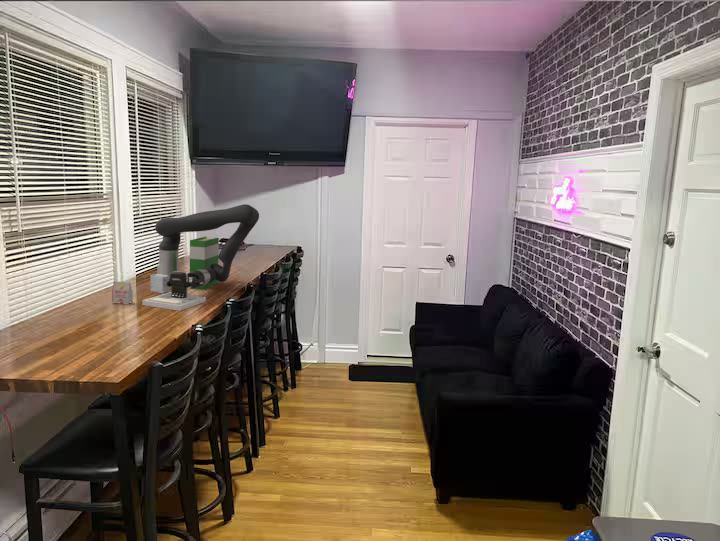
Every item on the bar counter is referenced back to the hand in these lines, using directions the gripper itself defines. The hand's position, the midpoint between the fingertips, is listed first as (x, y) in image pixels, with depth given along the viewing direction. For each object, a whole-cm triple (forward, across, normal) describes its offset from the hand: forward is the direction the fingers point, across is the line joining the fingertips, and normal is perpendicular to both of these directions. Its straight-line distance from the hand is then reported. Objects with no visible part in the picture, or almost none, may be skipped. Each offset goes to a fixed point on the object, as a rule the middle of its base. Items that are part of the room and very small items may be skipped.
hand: (175, 285), depth 207 cm
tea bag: (+10, -18, +9) cm, 23 cm away
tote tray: (0, 0, +9) cm, 9 cm away
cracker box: (+6, 0, +8) cm, 10 cm away
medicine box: (-15, -19, +9) cm, 26 cm away
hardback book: (-40, -12, +10) cm, 43 cm away
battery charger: (-2, 0, +6) cm, 7 cm away
